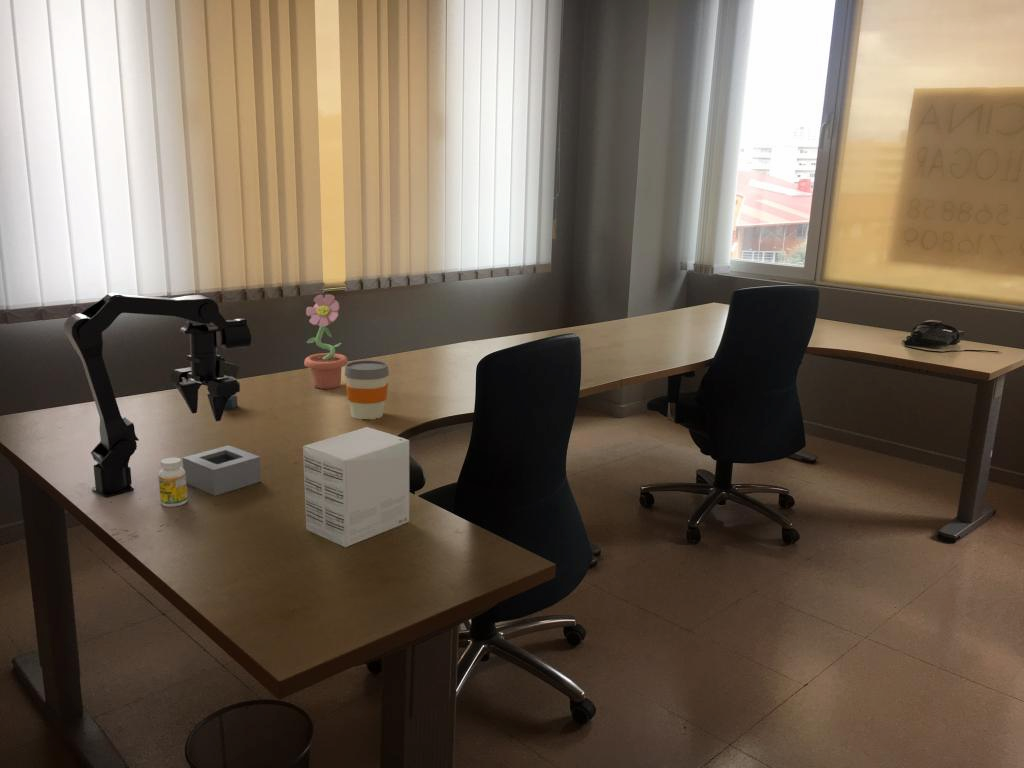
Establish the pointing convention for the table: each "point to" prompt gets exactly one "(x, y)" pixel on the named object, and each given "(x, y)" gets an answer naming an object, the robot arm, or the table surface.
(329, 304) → the decorative flower
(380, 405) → the reusable coffee cup
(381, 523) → the supplement box
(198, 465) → the drop box
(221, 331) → the robot arm
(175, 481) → the supplement bottle
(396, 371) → the table surface
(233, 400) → the white bust figurine
